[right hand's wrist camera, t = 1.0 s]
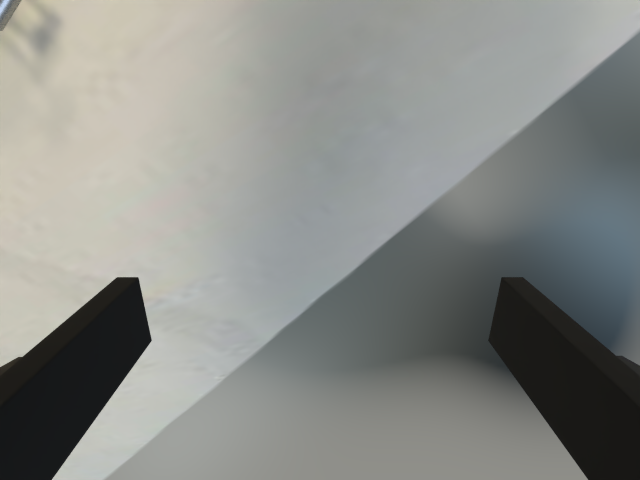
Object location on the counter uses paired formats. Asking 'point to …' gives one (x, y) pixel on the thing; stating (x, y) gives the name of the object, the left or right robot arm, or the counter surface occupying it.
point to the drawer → (7, 11)
